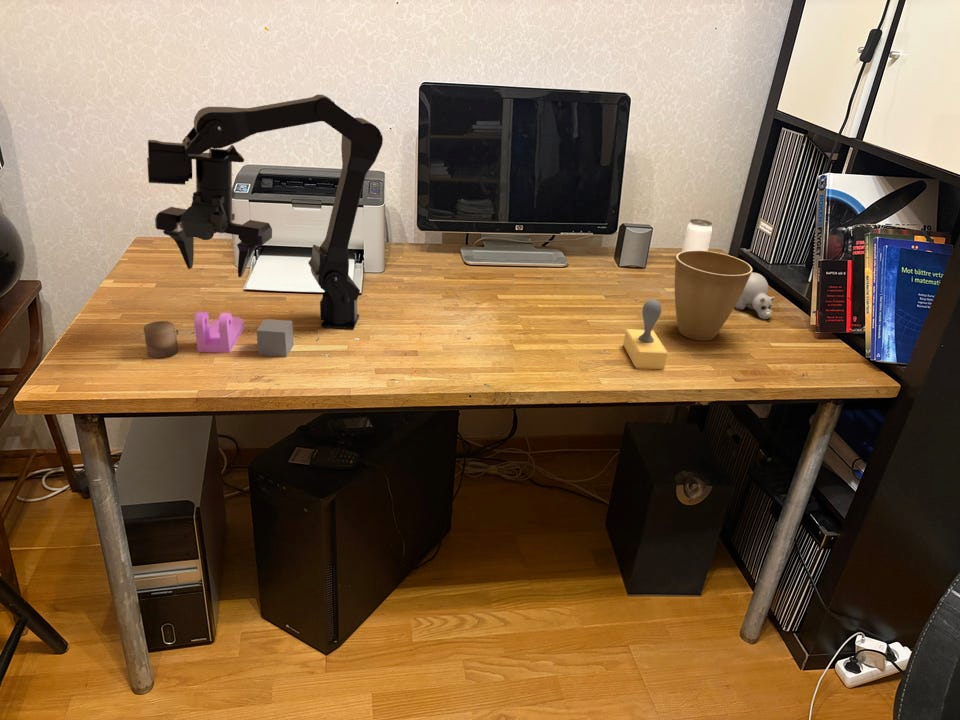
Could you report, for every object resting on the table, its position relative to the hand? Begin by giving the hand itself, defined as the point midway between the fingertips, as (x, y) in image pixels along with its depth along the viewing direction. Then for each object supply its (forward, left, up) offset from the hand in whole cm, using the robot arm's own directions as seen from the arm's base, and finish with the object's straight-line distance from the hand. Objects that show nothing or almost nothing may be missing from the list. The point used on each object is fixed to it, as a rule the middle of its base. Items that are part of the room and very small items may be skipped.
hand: (215, 272), depth 127 cm
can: (-104, -62, -13) cm, 122 cm away
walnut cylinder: (+8, +8, -13) cm, 17 cm away
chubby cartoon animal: (-110, -31, -13) cm, 116 cm away
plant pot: (-94, -17, -13) cm, 97 cm away
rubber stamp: (-80, -4, -13) cm, 82 cm away
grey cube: (-11, +4, -13) cm, 18 cm away
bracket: (0, 0, -13) cm, 13 cm away
